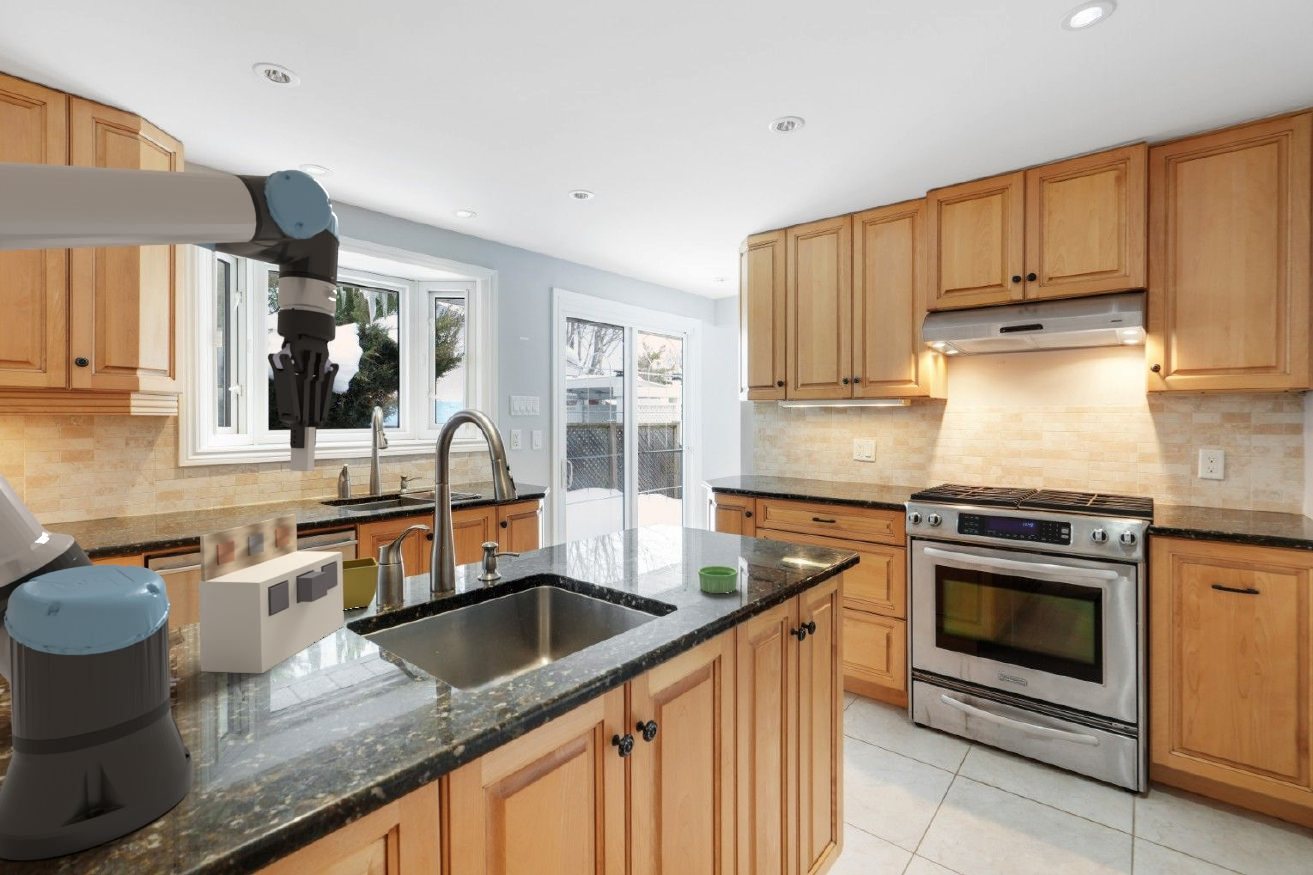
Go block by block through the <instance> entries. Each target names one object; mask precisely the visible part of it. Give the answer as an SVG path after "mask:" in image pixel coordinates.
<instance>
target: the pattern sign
mask: <svg viewBox="0 0 1313 875" xmlns="http://www.w3.org/2000/svg"><path fill="white" fill-rule="evenodd" d="M297 529H298V528H297V514H296V513H291V514H286V515H284V516H283V515H282V516H279V517H275V518H270V519H267V520H262V521H257V522H253V523H250V524H245V525H240V526H238V527H232V528H228V529H224V530H223V529H222V530H219V531H215V532H211V533H207V534H206V533H205V534H203V535H200V536H199V537H200V538H199V539H200V540H199V541H200V546H199V547H200V570H201V571H200V573H201V574H200V578H201V580H200V581H208V580H211V579H214V578H217V577H220V576H223V575H226V574H229V573H232V572H235V571H238V570H241V569H244V568H247V567H250V566H253V565H256V564H260V563H263V562H266V561H269V560H272V559H275V558H278V557H281V556H284V555H287V554H290V553H293V552H296V551H298V543H297V541H298V536H297V535H298V534H297V533H298V532H297V531H298V530H297Z"/></svg>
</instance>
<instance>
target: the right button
mask: <svg viewBox="0 0 1313 875" xmlns="http://www.w3.org/2000/svg"><path fill="white" fill-rule="evenodd" d="M321 572H327V589H328V588H330V587H333V586H335V585H337V584H338V580H337V563H329V564H327V565H324V566H322V567H321Z"/></svg>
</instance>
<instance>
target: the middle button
mask: <svg viewBox="0 0 1313 875" xmlns="http://www.w3.org/2000/svg"><path fill="white" fill-rule="evenodd" d="M296 590H297V602H313V601H315V600H318V599H320V598H322V597H324V596H326V595H327V572H307V573H304V574H302V575H299V576H296Z"/></svg>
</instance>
